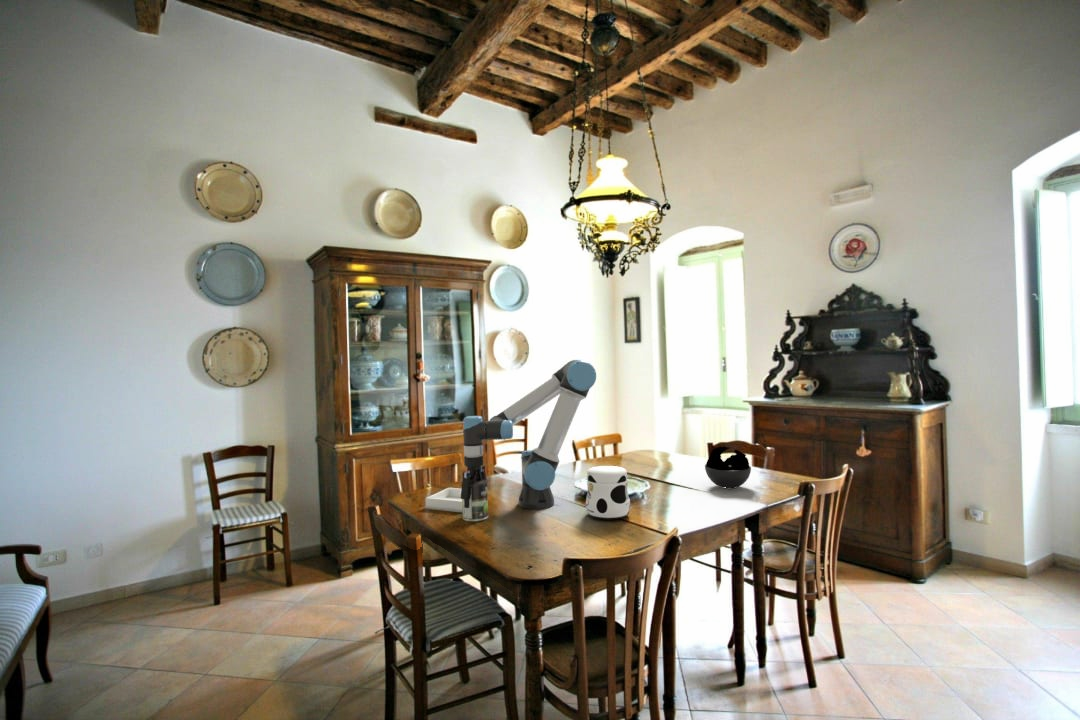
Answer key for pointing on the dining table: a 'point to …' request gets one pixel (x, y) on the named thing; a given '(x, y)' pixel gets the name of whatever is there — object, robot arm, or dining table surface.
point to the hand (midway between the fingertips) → (475, 511)
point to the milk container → (607, 492)
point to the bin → (445, 500)
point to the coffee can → (477, 501)
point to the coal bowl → (727, 468)
